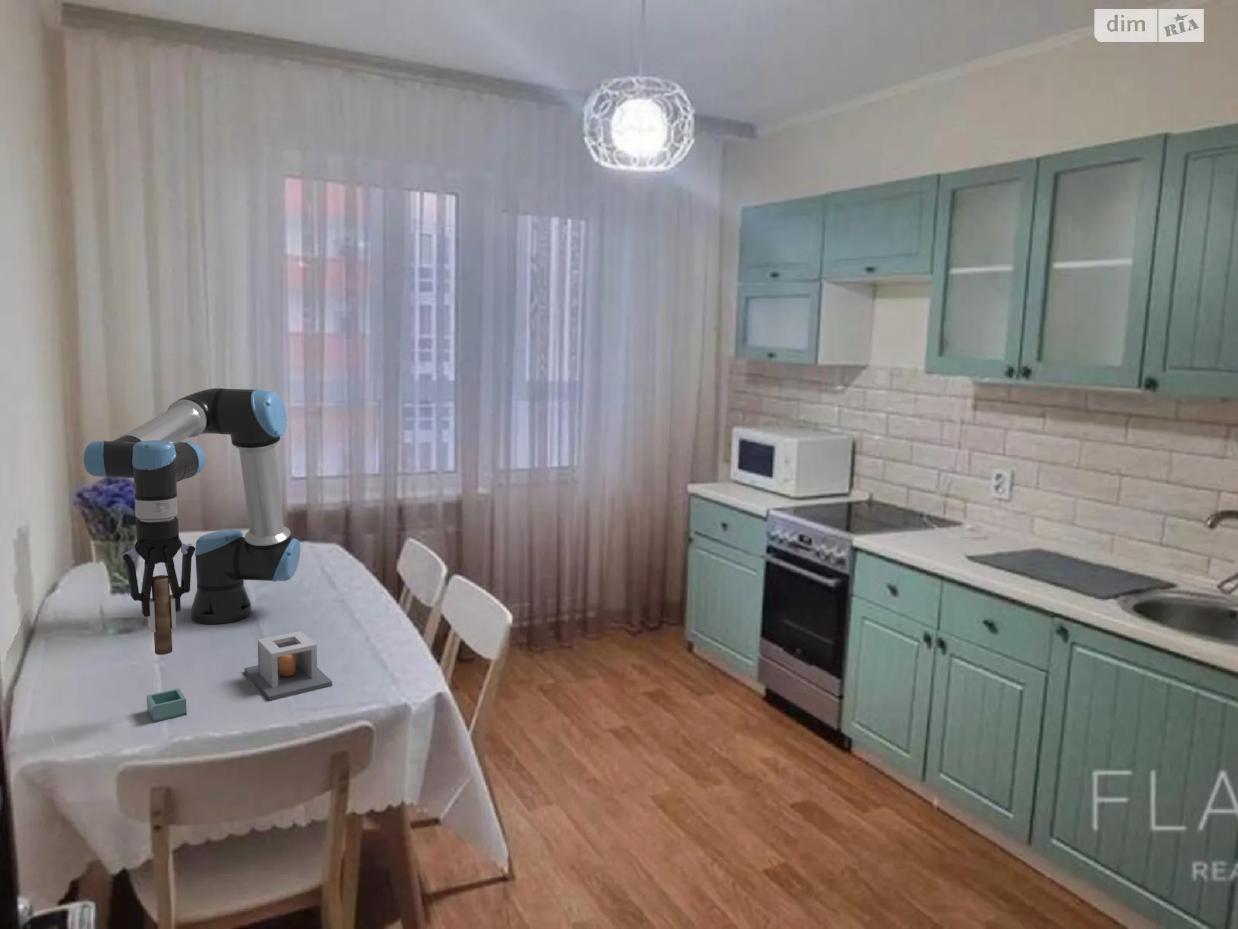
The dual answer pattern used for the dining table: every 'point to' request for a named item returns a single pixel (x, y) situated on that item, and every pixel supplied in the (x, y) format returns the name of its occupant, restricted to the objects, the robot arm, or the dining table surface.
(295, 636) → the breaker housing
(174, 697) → the box
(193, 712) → the dining table surface
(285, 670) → the button
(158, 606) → the brown wooden rod
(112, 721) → the dining table surface
